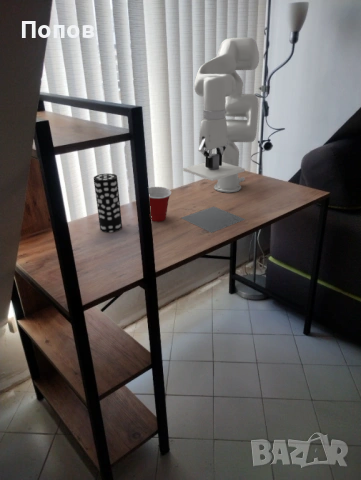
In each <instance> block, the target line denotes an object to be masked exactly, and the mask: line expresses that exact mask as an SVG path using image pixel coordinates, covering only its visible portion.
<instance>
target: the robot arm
mask: <svg viewBox="0 0 361 480" xmlns="http://www.w3.org/2000/svg"><path fill="white" fill-rule="evenodd" d="M259 62H260V52H259V47H258V44H257V42H256V41H255V39H254V38H252V37H228V38H226V39H224V40H223V41H221V43H220V44H219V47H218V50H217V54H216V56H215V57H214V58H212V59H210V60H208V61H206V62H204V63H203V64H201V65H200V67H199V69H198V71H197V73H196V77H195V79H194V83H193V85H194V86H193V87H194V92H195V93H196V94H197V96H199V97H203V117H202V118H203V119H202V120H201V122H200V125H199V127H200V128H199V136H198V137H199V139H198V140H199V141H198V146H199V148H198V150H197V151H198V152H200V153H201V154H202V155H203V156H204V158H205V162H204V163H205V166H206V167H207V168H210V169H212V168H213V158H212V157H211V156H212V154H213V150H214V149H215V154H219V166H222V162H224V163H227V164H231V165H234V166H237V167H240V166H239V164H240V151H239V148H238V146H237V145H236V143H252V142H254V141H255V140H256V137H257V130H258V119H259V118H258V117H259V106H260V105H259V98H258V96H257V95H256V94H253V93H243V89H244V88H243V86H244V82H243V81H244V80H243V79H242V78H241V76H240V74H238V72H237V71H253V70H256V69H257V68H258V66H259ZM226 117H233V118H235V117H236V118H246V119H233V118H232V119H227V118H226ZM242 182H245V177H244V176H242V177H239V173H237V174H234V175H231V176H227V177H224V178H221V179H218V180H217V183H215V184H214V186H213V189H214V190H215V191H217V192H220V193H227V194H228V193H236V192H239V191H241V189H242V186H241V185H240V183H242Z"/></svg>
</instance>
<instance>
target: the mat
mask: <svg viewBox="0 0 361 480" xmlns="http://www.w3.org/2000/svg"><path fill="white" fill-rule="evenodd" d="M180 219H182V220H184V221H186V222H189V223H191V224H192V225H195V226H197V227H198V228H201V229H203V230H205V231H207V232H208V233H215V232H218V231H219V230H223V229H225V228H228V227H230V226H232V225H235V224H237V223H240V222H243V221H245V220H246V218H243V217H241V216H238V215H236V214H233V213H231V212H229V211H226V210H224V209H221V208H219V207H216V206H211V207H209V208H206V209H202V210H200V211H197V212H194V213H190V214H187V215H184V216H182V217H180Z"/></svg>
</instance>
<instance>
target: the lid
mask: <svg viewBox="0 0 361 480" xmlns="http://www.w3.org/2000/svg"><path fill="white" fill-rule="evenodd" d="M211 157H212V158H213V168H212V169H210V168H207V167H206V166H205V162H202V163H197V164H193V165H190V166H187V167H183V168H182V169H183V170H182V171H183V172H185V173H189V174H191V175H195V176H196V177H200V178H203V179H206V180H208V181H211V182H214V181H218V179H221V178H224V177H227V176H231V175H234V174H237V173H238V174H240V173H243V172H245V167H242V166H239V167H237V166H234V165H231V164H227V163H224V162H222V166H219V154H217V153H212V156H211Z"/></svg>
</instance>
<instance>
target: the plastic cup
mask: <svg viewBox="0 0 361 480" xmlns="http://www.w3.org/2000/svg"><path fill="white" fill-rule="evenodd" d="M148 188H149V194H150V206H151V216H152V220H151V221H153V222H158V223H159V222H164V221H165V220H166V219H167V212H168V205H169V200H170V196H171V194H172V190H170V189H169V188H166V187H162V186H150V187H148Z"/></svg>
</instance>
